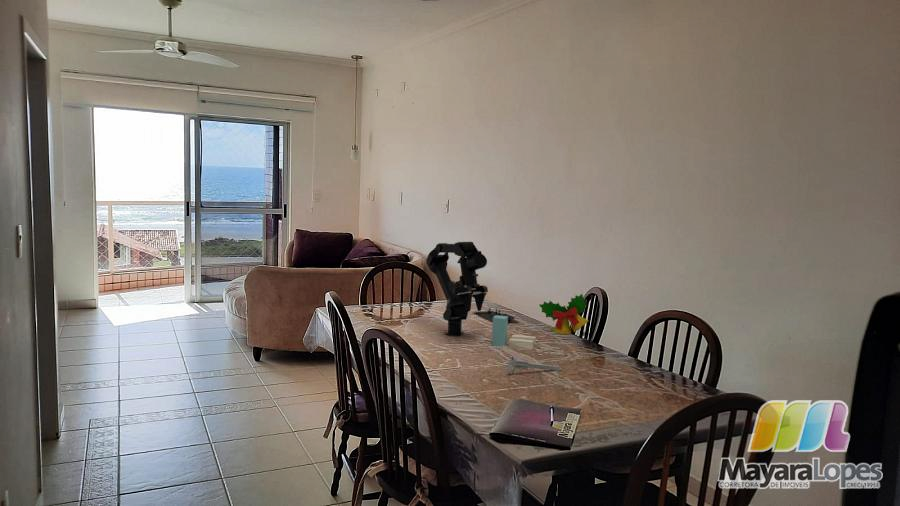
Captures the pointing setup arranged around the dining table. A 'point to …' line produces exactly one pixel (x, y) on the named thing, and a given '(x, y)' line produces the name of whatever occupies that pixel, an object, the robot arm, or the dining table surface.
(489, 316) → the circuit board
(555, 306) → the ornament
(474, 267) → the robot arm
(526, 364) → the caliper
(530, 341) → the birch block
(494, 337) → the teal block
